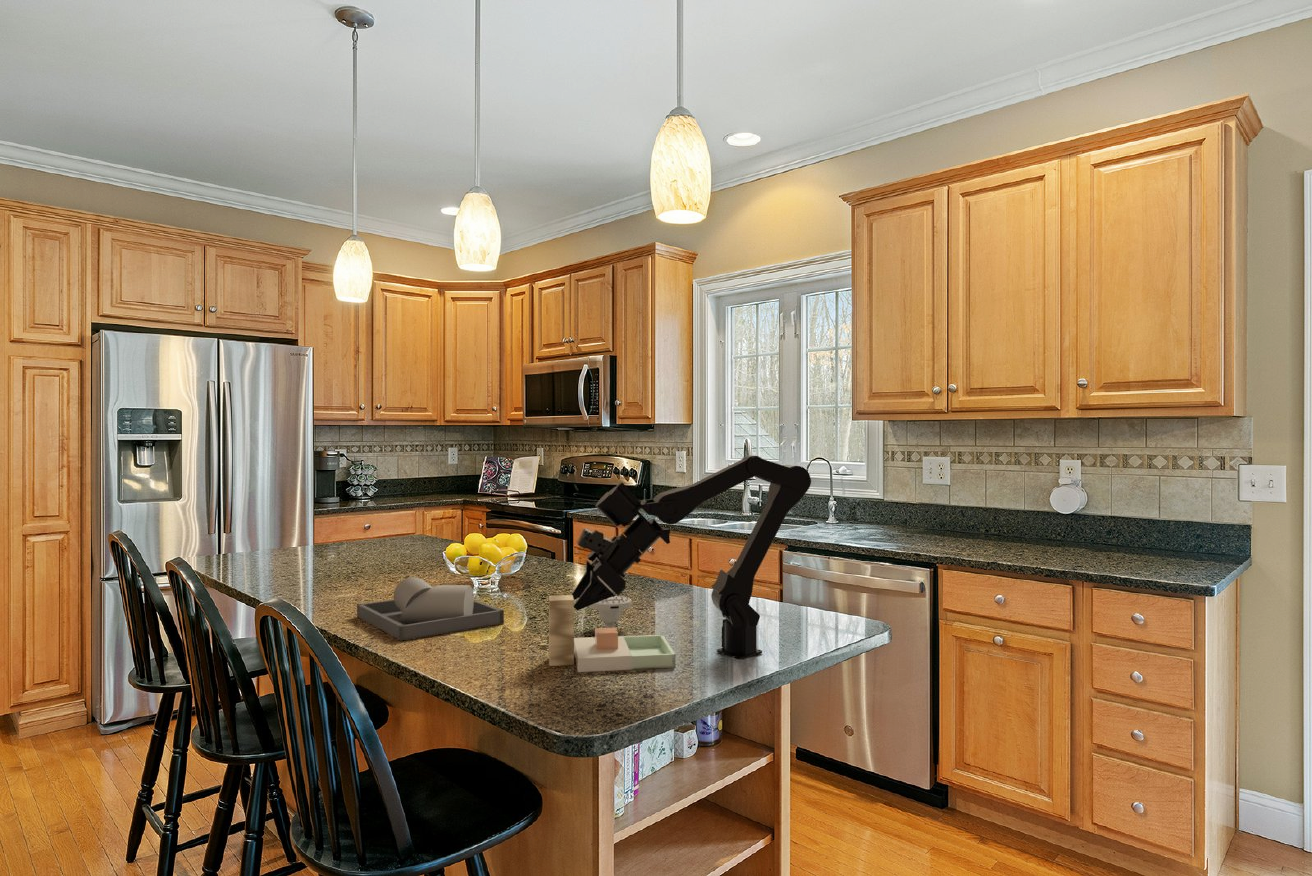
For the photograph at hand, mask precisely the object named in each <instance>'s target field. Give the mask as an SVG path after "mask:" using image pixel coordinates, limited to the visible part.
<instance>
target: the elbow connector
mask: <svg viewBox="0 0 1312 876" xmlns="http://www.w3.org/2000/svg"><path fill="white" fill-rule="evenodd" d="M393 600H394V602H395V604H396V606H397V607H398V608H399V609H400V610H401V611H402V614H401V616H400V622H401V623H420V622H427V621H433V620H439V619H446V618H452V617H458V616H465V615H471V614H472V613H473V604H474V600H475V599H474V590H473V588H472V586H471V585H468V584H467V585H466V584H465V585H462V584H461V585H460V584H459V585H458V584H457V585H456V584H454V585H453V584H451V585H450V584H449V585H448V584H446V585H445V584H441V585H440V584H439V585H436V586H432V585H430V584H429V583H427V582H426V581H425V580H424V579H422V578H420V577H415V576H411V577H406V578H404V579H403V580H401V581H400V582H399V583H398V584H397V585H396V587H395V588H394V590H393Z"/></svg>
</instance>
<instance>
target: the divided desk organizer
mask: <svg viewBox="0 0 1312 876" xmlns="http://www.w3.org/2000/svg"><path fill="white" fill-rule="evenodd" d="M504 612H505V610H504V609H501V608H498V607H495V606H492V605H491V604H488V603H484V602H482V601H479V600H476V599H474V604H473V613H472V614H471V615H465V616H458V617H452V618H446V619H439V620H433V621H427V622H420V623H401V622H400V616H401V614H402V611H401V610H400V609H399V608H398V607H397V606H396V604H395V602H394V599H388V600H380V601H372V602H366V603H359V604H357V605H356V618H357V617H358V619H359V618H360V620H361V621H363V620H364V621H363V622H365V621H366V622H365V623H366V624H368V623H369V624H368V625H370V626H372V625H373V626H372V627H374V626H375V627H374V628H376V627H377V628H376V629H378V630H379V629H381V630H383V631H384V632H383V631H382V632H383V633H385V632H386V633H385V634H387V635H388V634H390V635H391V636H390V635H389V636H390V637H392V636H393V637H392V638H394V639H396V638H397V639H396V640H398V639H399V640H400V642H403V641H402V640H406V641H408V640H407V639H411V640H414V639H413V638H417V639H422V637H423V638H428V637H427V636H429V637H434V636H433V635H435V636H440V635H439V634H441V635H445V634H451V633H457V632H464V631H470V630H475V629H479V628H480V629H481V628H487V627H492V626H499V625H504V623H505V622H504V621H505V618H504V616H505V614H504ZM381 630H380V631H381ZM399 640H398V641H399Z"/></svg>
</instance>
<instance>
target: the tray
mask: <svg viewBox="0 0 1312 876" xmlns="http://www.w3.org/2000/svg"><path fill="white" fill-rule="evenodd" d="M622 636H623V635H622ZM623 637H624V639H625V641H626V644H627V646H628V648H629V650H630V652H631V654H632V671H633V670H648V669H653V670H654V669H672V668H674V669H675V668H676V665H677V663H676V662H677V661H676V660H677V659H676V658H677V657H676V652H675V651H674V649H673V648H672V646H671V645H670V644H669V642H668V641H667V639H666V638H665V636H664V634H656V635H655V634H651V635H648V634H647V635H628V636H627V635H626V636H623Z"/></svg>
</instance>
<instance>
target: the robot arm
mask: <svg viewBox="0 0 1312 876" xmlns="http://www.w3.org/2000/svg"><path fill="white" fill-rule="evenodd" d="M753 478H757V479H760V480H763V481H765V482H768V483H770V484H769V487H768V493H767V499H766V502H765V506H764V507H763V510H762V512H761V513H760V516H758V519H757V521H756V523H755V525H754V526H753V529H752V530H751V533H750V534H749V536H748V538H747V539H746V543H744V546H743V548H742V550H741V551H740V554H739V556H738V558H737V560H736V562H735V563H734V565H733V566H732V567H731V568H730V569H729V570H727V572H726V571H724V570H723V569H720V570H719V573H718V575H717V578H716V580H715V582H714V583H713V584H712V585H710V587H711V589H712V592H711V595H710V597H711V601H712V604H713V605H714V606H715V608H717V610H718V611H719V612H720V613H721V616H722V618H724V619H722V626H721V648H717V649H716V653H719V654H723V655H726V656H728V657H731V658H735V659H739V660H742V659H745V658H749V657H753V656H757V655H761V654H763V650H762V649H758V648H757V638H758V637H757V636H758V635H757V632H758V631H757V626H758V624H759V621H760V618H761V615H760V613H758V612H757V611H756V610H755V609H754V608H753V607H752V606H751V605H750V604H749V603H750V602H751V597H752V594H753V589H754V581H755V577H756V575H757V573H758V570H759V569H760V566H761V565H762V562H763V560H764V559H765V557H766V555H767V553H768V551H769V549H770V547H771V545H772V543H773V541H774V540H775V537H776V536H777V534H778V532H779V531H780V527H782V524H783V522H784V521H785V518H786V516H787V514H788V513H789V512H790V511H791V510H792V509H793V508H794V507H795V506H796V505H798V503H799V502H800V501H801V500H802V499H803V497H804V496H805V495H806V493H808V491H809V489H810V487H811V485H812V478H811V475H810V473H809V471H808V469H806V468H805V467H803V466H800V465H793V464H784V465H783V464H779V463H776V462H773V461H770V460H767V459H764V458H762V457H761V456H758V455H753V454H752V455H751V454H748V455H745V456H743V457H742V458H741V459H740V460H738V461H736V462H734V463H732V464H730V465H728V466H726V467H724V468H721V469H720V470H718V471H715V472H714V473H712V474H710V475H708V476H706V477H703V478H702V479H700V480H697V481H696V482H693V483H692V484H688V485H685V486H684V485H683V486H681V487H677V488H673V489H669V490H666V491H662V492H660V493H657V495H655V496H654V497H653V498H650V499H642V500H639V499H638V498H637V497H636V496H635V495H634V494H633V493H632V492H631V491H630V490H629V488H628V486H627V485H626V484H625V483H624V482H621V481H620V482H619V483H617V485H616V486H614V487H613V488H611V489H610V490H609V491H606V493H604V495H602V496H601V498H600V499H599V500H598V501H597V502H596V504H595V507H596V508H597V509H598V510H599V511H600V512H601V513H602V514H603V516H605V517H606V518H607V519H608V520H609V521H610V522H611V523H612V525H613V526H614V527H619V526H621V527H623V528H624V527H626V526H628V525H629V526H628V527H627V528H625V530H623V531H622V533H620V534H619V536H618V535H614V536H613V537H612V538H611V539H609V538H607V537H605V536H604V533H603V532H600V531H599V530H597V529H595V530H594V531H592V530H590V529H588V528H585V527H584V528H583V529H582V532H581V534H580V536H579V538H578V540H577V541H576V543H577V546H579V547H580V548H582V549H585V550H586V549H588V550H589V551H591V552H590V553H589V554H588V555H587V556H586V559H585V572H584V574H583V575H582V577H581V579H580V580H579V582H578V584H577V586H576V587H575V589H574V590H573V592H572V593H571V595H573V598H574V601H575V600H576V602H574V610H576V611H580V610H583V609H585V608H587V607H589V606H590V605H592V604H595V603H597V602H600V601H602V600H605V599H608V598H610V597H614V596H615V595H618V596H620V595H621V594H622V593H623V591H624V590H626V588H627V586H626V580H625V577H626V573H627V571H628V570H629V569H631V567H633V566H634V564H635V563H636V564H639V563H640V562H641V561H642V560H641V557H643V555H645V554H646V552H647V551H648V550H649V549H650V548H651V547H652V546H653V545H654V544H656V542H657V541H659V539H661V540H662V541H663V542H664V543H666V544H667V545H670V544H671V540H670V534H671V529H670V528H668V527H666V528H663V527H662V525H660V523H658V522H657V521H656V520H655V518H656V519H658V520H659V521H661V522H662V523H664V524H666V525H667V524H668V525H674V524H677V523H679V522H681V521H682V520H683V519H685V518H687V517H688V516H689V515H690V514H691V513H693V512H694V511H695V510H696V509H697V508H698V507H699V506H701V505H702V503H704V502H706V501H708V500H710V499H712V498H715V497H716V496H718V495H720V494H722V493H724V492H727V491H728V490H730V489H733V487H736V486H738V485H740V484H742V483H744V482H746V481H748V480H750V479H753ZM640 510H641V511H642V512H644V513H645V514H647V515H649V516H654V517H655V518H651V519H649V520H648V519H647V518H646V517H645V516H644V515H643V514H642V513H641V512H640ZM637 516H638V517H637ZM636 517H637V518H636ZM634 519H635V520H634ZM633 520H634V521H633Z"/></svg>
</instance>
